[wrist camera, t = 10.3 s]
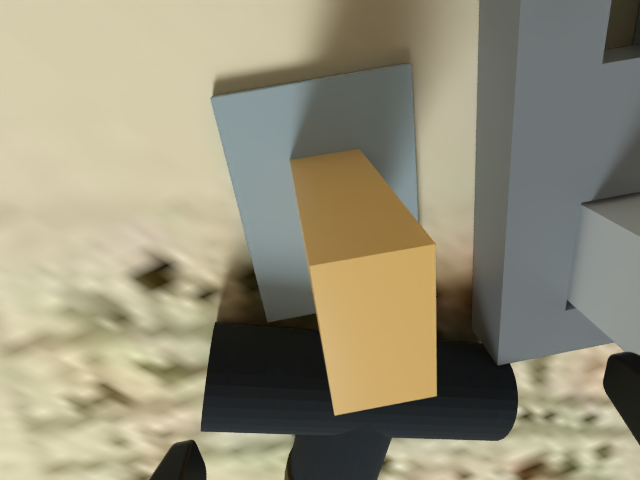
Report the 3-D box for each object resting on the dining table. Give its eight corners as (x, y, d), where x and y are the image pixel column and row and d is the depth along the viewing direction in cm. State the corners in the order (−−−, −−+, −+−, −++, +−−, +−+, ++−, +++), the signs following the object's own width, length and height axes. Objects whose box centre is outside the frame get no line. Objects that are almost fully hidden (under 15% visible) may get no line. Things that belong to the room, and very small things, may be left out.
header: (770, -238, 14) (887, -301, 12) (639, 295, 24) (686, 328, 22) (484, -196, 14) (536, -251, 11) (471, 328, 24) (497, 365, 21)
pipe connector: (456, 542, 24) (188, 546, 22) (425, 460, 29) (202, 455, 26) (533, 392, 20) (205, 373, 17) (481, 324, 25) (218, 301, 22)
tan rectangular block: (359, 148, 18) (435, 243, 10) (368, 250, 20) (436, 396, 12) (289, 160, 18) (309, 266, 10) (306, 261, 20) (334, 415, 12)
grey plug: (603, 173, 20) (821, 264, 12) (588, 261, 23) (764, 386, 15) (544, 184, 20) (725, 283, 12) (535, 271, 23) (683, 403, 15)
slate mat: (407, 63, 17) (411, 64, 17) (417, 286, 22) (421, 293, 22) (212, 96, 17) (210, 98, 16) (267, 315, 22) (267, 322, 21)
